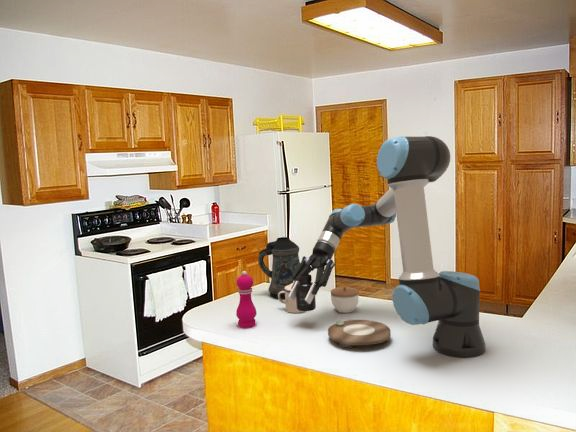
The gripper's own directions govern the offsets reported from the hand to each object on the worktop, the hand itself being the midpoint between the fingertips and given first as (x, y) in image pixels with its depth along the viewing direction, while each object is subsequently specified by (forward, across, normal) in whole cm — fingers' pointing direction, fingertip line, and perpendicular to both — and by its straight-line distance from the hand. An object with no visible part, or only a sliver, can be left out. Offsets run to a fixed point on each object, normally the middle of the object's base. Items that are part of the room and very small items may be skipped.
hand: (299, 300), depth 172 cm
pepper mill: (+13, +18, -1) cm, 22 cm away
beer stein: (-12, +32, -26) cm, 43 cm away
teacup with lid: (-3, +16, -17) cm, 24 cm away
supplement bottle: (+1, 0, -6) cm, 6 cm away
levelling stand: (+5, -22, -10) cm, 25 cm away
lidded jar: (-11, -1, -25) cm, 27 cm away
